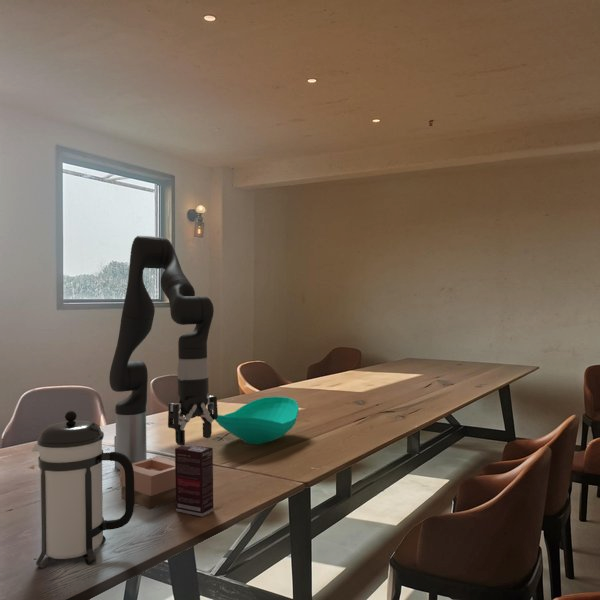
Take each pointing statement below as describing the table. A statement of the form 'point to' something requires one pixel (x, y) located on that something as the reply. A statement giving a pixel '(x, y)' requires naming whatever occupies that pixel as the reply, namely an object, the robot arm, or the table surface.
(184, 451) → the supplement box
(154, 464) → the tower top
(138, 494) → the tower bottom
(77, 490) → the coffee press
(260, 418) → the table top decor
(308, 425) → the table surface
